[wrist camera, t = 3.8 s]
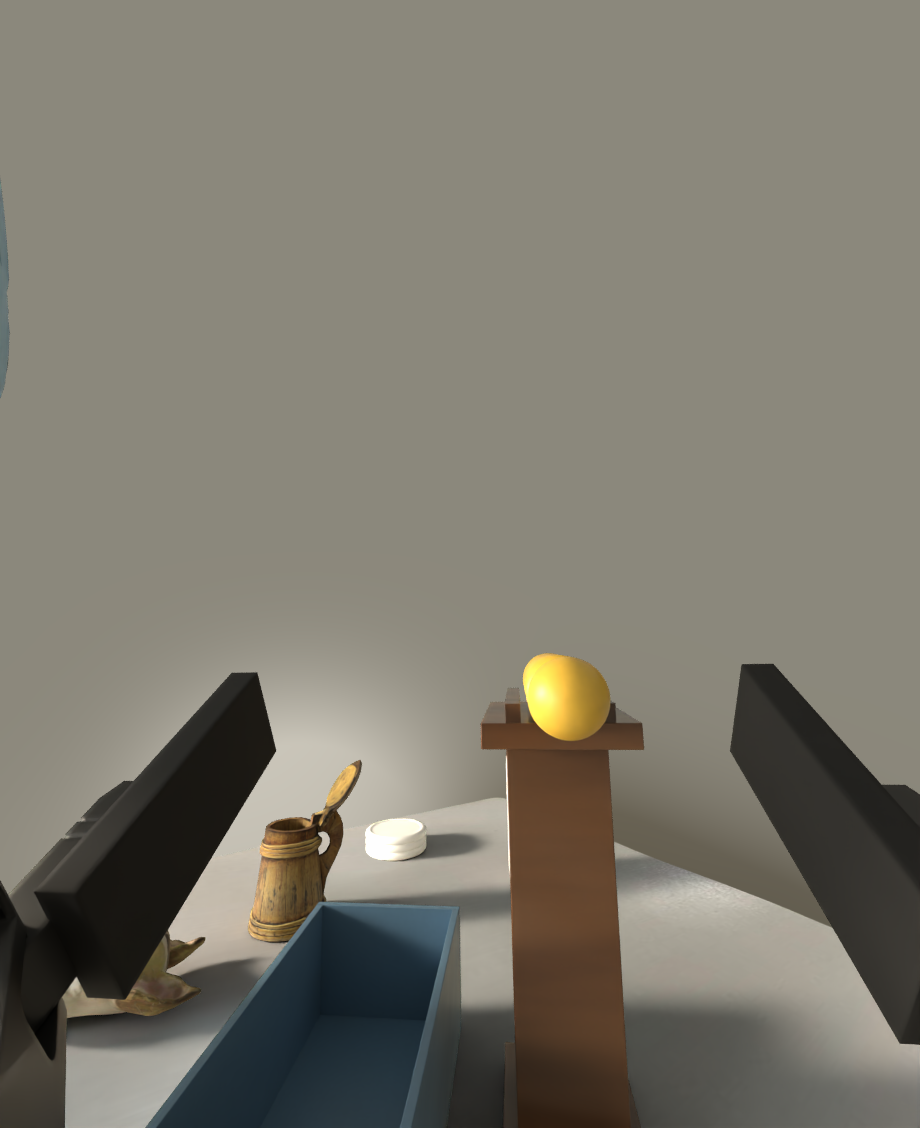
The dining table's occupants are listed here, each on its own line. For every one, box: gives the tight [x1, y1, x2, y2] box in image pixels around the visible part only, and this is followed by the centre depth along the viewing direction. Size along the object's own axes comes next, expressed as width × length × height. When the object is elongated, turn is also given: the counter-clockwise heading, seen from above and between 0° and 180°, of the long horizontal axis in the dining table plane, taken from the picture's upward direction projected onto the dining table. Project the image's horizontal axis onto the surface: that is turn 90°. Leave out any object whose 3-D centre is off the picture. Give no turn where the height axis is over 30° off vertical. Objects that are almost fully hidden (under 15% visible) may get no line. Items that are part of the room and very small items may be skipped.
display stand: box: [481, 688, 644, 1128], centre depth 37 cm, size 13×10×29 cm
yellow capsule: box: [523, 653, 610, 741], centre depth 35 cm, size 20×4×4 cm, turn 174°
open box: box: [145, 902, 461, 1128], centre depth 35 cm, size 24×13×10 cm, turn 174°
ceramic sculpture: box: [62, 930, 205, 1018], centre depth 49 cm, size 11×9×15 cm
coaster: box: [366, 818, 427, 861], centre depth 86 cm, size 10×10×4 cm
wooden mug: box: [248, 760, 362, 942], centre depth 66 cm, size 9×14×18 cm, turn 117°
